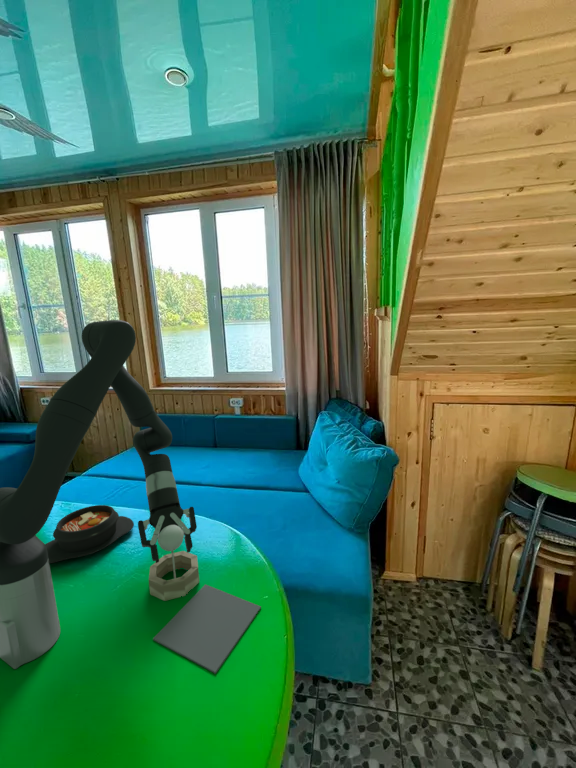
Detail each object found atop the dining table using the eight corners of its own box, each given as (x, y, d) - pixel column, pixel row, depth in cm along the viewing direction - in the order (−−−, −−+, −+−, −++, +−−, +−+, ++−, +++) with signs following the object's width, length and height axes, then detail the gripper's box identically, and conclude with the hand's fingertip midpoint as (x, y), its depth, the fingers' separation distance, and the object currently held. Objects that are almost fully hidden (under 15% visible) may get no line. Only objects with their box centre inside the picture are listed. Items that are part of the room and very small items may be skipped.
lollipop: (171, 594, 79) (165, 537, 77) (157, 583, 83) (151, 528, 81) (192, 578, 84) (187, 524, 82) (179, 569, 88) (173, 517, 85)
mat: (215, 673, 61) (215, 672, 60) (153, 640, 68) (153, 638, 68) (261, 608, 75) (260, 606, 75) (205, 585, 82) (205, 584, 82)
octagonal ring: (175, 606, 76) (173, 590, 75) (140, 590, 81) (138, 575, 80) (208, 573, 86) (207, 559, 85) (175, 560, 91) (174, 547, 91)
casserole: (44, 581, 85) (39, 551, 84) (34, 548, 99) (30, 522, 97) (143, 537, 102) (140, 512, 101) (123, 514, 116) (120, 492, 114)
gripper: (132, 494, 83) (141, 564, 75) (190, 480, 90) (204, 543, 82) (133, 504, 89) (141, 570, 80) (188, 490, 95) (201, 550, 87)
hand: (173, 556), depth 81 cm, fingers open, 7 cm apart
